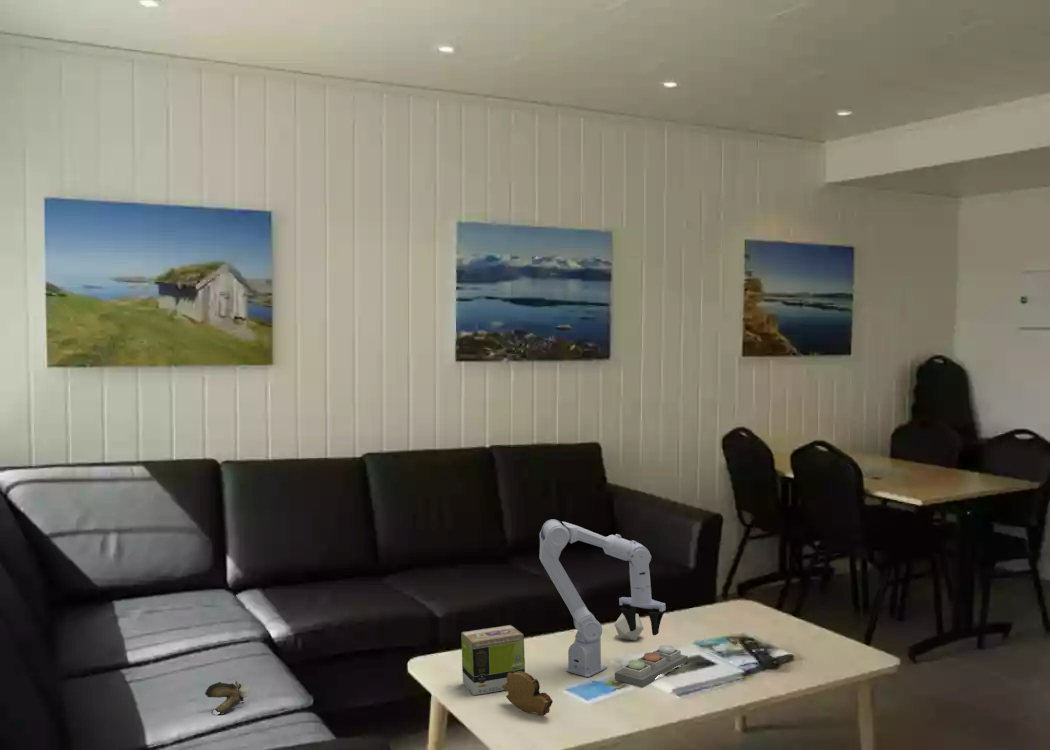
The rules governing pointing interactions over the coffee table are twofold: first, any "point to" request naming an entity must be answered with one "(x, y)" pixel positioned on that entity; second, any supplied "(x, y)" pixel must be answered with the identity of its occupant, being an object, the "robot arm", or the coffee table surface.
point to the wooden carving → (526, 693)
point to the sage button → (636, 665)
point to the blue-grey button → (666, 649)
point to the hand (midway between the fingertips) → (644, 632)
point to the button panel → (650, 669)
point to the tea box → (491, 657)
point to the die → (624, 628)
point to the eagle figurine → (228, 694)
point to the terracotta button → (652, 657)
